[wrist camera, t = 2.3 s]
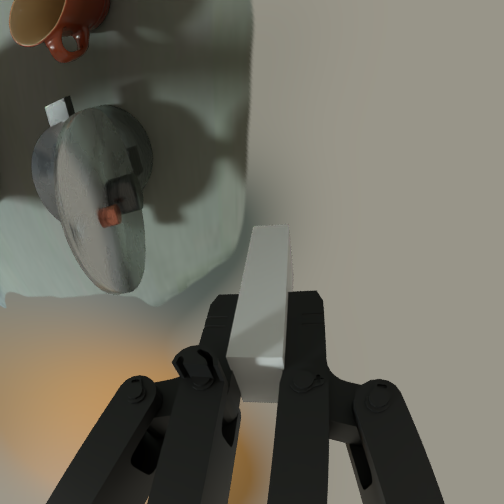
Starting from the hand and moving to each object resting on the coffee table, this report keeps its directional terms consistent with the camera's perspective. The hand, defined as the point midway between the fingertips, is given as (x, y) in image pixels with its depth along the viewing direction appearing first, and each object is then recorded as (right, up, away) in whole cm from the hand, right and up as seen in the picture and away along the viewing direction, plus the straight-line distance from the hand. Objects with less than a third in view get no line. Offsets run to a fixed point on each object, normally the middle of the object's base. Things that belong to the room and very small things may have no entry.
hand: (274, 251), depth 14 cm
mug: (-20, +28, +12) cm, 37 cm away
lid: (-13, +4, +9) cm, 16 cm away
